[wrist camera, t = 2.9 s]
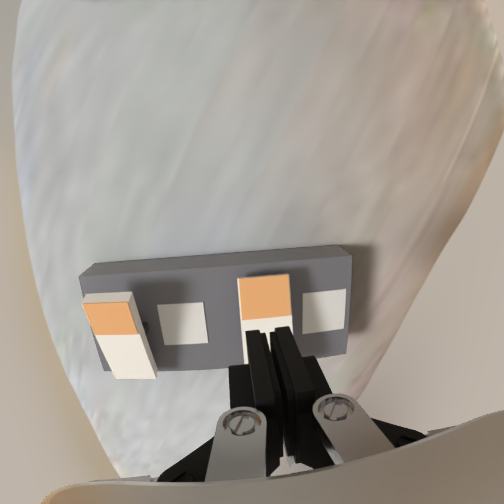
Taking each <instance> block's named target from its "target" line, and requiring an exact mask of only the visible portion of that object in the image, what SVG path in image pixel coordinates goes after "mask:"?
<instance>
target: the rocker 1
mask: <svg viewBox="0 0 504 504" xmlns="http://www.w3.org/2000/svg"><path fill="white" fill-rule="evenodd" d="M82 306H83V308H84V311H85V313H86V316H87V318H88V320H89V323H90V325H91V327H92V330H93V332H94V334H95V336H96V339H97V341H98V343H99V345H100V347H101V350H102V352H103V354H104V356H105V358H106V360H107V362H108V364H109V366H110V368H111V370H112V372H113V374H114V376H115V378H116V379H156V377H157V366H156V363H155V360H154V358H153V355H152V352H151V349H150V346H149V343H148V340H147V337H146V334H145V331H144V328H143V325H142V322H141V319H140V316H139V313H138V309H137V306H136V303H135V300H134V296H133V293H132V292H113V293H92V294H86V295H85V297H84V299H83V301H82Z"/></svg>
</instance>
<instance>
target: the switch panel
mask: <svg viewBox="0 0 504 504" xmlns="http://www.w3.org/2000/svg"><path fill="white" fill-rule="evenodd" d="M276 274H289V279H290V293H291V309H292V326H293V336H294V339H295V341H296V344H297V346H298V349H299V351H300V353H301V356H302V357H305V356H312V355H314V356H315V358H322V357H329V356H335V355H341V354H346V349H347V338H348V326H349V312H350V296H351V276H352V255H351V254H349V253H348V252H347V251H345V250H344V249H342V248H341V247H340V246H338V245H327V246H314V247H301V248H288V249H275V250H262V251H249V252H236V253H223V254H210V255H197V256H184V257H171V258H158V259H146V260H133V261H120V262H107V263H94V264H93V265H92V266H91V267H89V268H88V269H87V270H86V271H85V272H83V273H82V274H81V275H80V276H79V280H80V285H81V290H82V294H83V298H84V297H85V295H86V294H92V293H113V292H132V293H133V296H134V300H135V303H136V306H137V309H138V313H139V316H140V319H141V322H142V325H143V328H144V331H145V334H146V337H147V340H148V343H149V346H150V349H151V352H152V355H153V358H154V360H155V363H156V366H157V371H185V370H206V369H222V368H229V366H230V365H241V364H244V354H243V343H242V332H241V320H240V308H239V296H238V284H237V278H240V277H252V276H264V275H276ZM90 326H91V325H90ZM91 330H92V327H91ZM92 333H93V337H94V340H95V344H96V347H97V350H98V354H99V357H100V360H101V363H102V366H103V369H104V371H112V370H111V368H110V366H109V364H108V362H107V360H106V358H105V356H104V354H103V352H102V350H101V347H100V345H99V343H98V341H97V339H96V336H95V334H94V332H93V330H92Z"/></svg>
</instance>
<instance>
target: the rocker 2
mask: <svg viewBox="0 0 504 504" xmlns="http://www.w3.org/2000/svg"><path fill="white" fill-rule="evenodd" d="M237 284H238V296H239V308H240V320H241V332H242V343H243V354H244V364H248V355H247V345H246V335H245V331H249V330H260V333H266V337H267V340H268V344H269V348H270V332H274V330H275V328H276V327H285V326H289V327H290V329H291V332H292V334H293V326H292V309H291V293H290V279H289V274H276V275H264V276H252V277H240V278H237ZM270 352H271V351H270Z"/></svg>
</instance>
